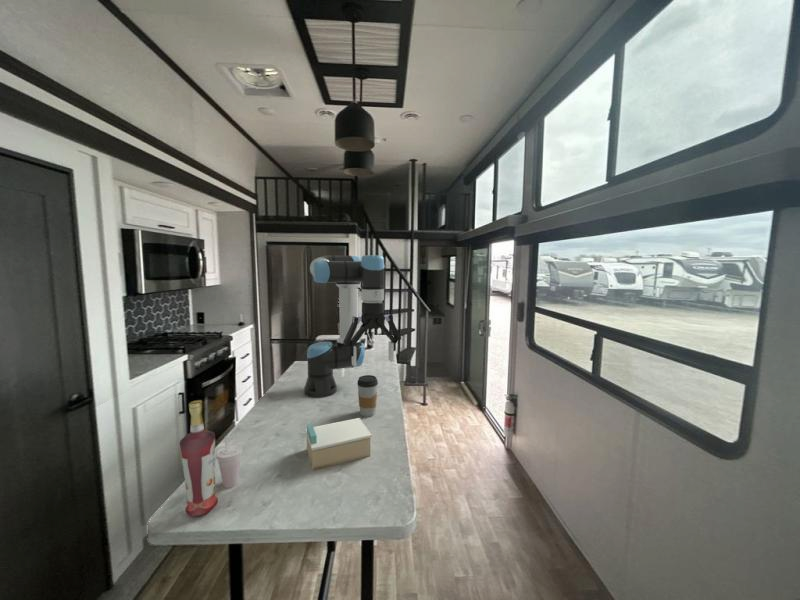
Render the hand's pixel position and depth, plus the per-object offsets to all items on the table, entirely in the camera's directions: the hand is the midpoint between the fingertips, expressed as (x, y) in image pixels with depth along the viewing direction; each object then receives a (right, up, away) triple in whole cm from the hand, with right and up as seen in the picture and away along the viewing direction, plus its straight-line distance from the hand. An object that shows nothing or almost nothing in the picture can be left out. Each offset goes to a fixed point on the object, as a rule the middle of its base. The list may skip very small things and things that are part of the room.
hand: (373, 362), depth 112 cm
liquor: (-40, -31, -31) cm, 59 cm away
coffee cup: (-4, -25, +22) cm, 34 cm away
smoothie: (-38, -30, -21) cm, 53 cm away
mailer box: (-11, -28, -6) cm, 31 cm away
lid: (-11, -22, -7) cm, 25 cm away
